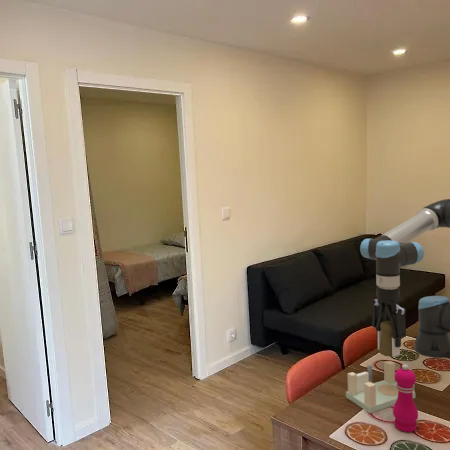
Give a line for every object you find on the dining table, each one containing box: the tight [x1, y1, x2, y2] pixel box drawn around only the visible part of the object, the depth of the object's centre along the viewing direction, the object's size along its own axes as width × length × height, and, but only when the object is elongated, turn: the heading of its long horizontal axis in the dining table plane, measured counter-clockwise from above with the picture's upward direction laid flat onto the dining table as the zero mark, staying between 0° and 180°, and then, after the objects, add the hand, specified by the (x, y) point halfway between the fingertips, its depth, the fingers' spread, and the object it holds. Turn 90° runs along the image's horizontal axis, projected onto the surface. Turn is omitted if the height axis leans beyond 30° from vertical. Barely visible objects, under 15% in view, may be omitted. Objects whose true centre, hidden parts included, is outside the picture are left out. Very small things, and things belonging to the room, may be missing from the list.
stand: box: [345, 360, 416, 414], centre depth 155 cm, size 20×12×10 cm, turn 114°
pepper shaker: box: [378, 320, 394, 357], centre depth 154 cm, size 6×6×11 cm
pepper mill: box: [392, 364, 419, 433], centre depth 137 cm, size 7×7×20 cm
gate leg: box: [347, 371, 369, 395], centre depth 156 cm, size 8×2×7 cm, turn 114°
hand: (388, 351), depth 155 cm, fingers closed on pepper shaker, 6 cm apart
